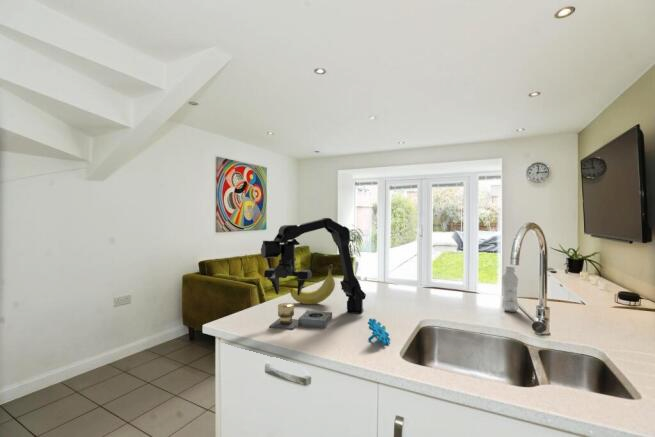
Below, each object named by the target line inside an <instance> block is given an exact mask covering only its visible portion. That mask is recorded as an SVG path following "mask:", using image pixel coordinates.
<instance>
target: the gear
mask: <svg viewBox="0 0 655 437" xmlns="http://www.w3.org/2000/svg"><path fill="white" fill-rule="evenodd" d="M381 323H382V322H380V321H378V322H377V319H376V318H369V319H368V322H367V325H369V326H368V329H369V330H370V331H372V332H371V334H372V335H370V336H369V337H368V341H369V342H371V341H372V340H374V338H376V340H377V341H378V342H381V343H382V344H383V346H384V345H389V344H390V341H391V337H389V336H390V333H389V332H388V331H386V325H382V324H381ZM381 325H382V326H381Z"/></svg>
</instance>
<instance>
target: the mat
mask: <svg viewBox="0 0 655 437" xmlns="http://www.w3.org/2000/svg"><path fill="white" fill-rule="evenodd" d="M268 327H269V328H272V329H280V330H292V331H293V330H295V329H296V328H297V327H299V326H298V319H296V318H295V319H294V318H292V324H289V325H282V324H280V317H279V318H278V319H276V320H275V321H274V322H273V323H271V324H270V325H269V326H268Z"/></svg>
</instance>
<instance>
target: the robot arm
mask: <svg viewBox="0 0 655 437" xmlns="http://www.w3.org/2000/svg"><path fill="white" fill-rule="evenodd" d="M321 229H325V231H327V233H330V234H331V237H332V240H333V242H334V243H335V245H336V246H337V250H338V256H339V259H340V265H341V269H342V273H343V274H342V275H343V279H342V280H341V281H340V287H341V289H340V290H342V291H343V293H345V297H347V301H346V312H347V313H350V314H360V315H361V314H362V313H363V312H364V307H363V306H364V302H363V301H364V300H365V299H366V296H367V294H366V293H365V292H364V291H363V290H362V287H361V283H360V282H359V279H357V277H356V276H355V271H354V267H353V261H352V256H351V252H350V247H349V244H350V241H351V233H350V229H349V227H347V226H345V225H344V226H343V225H342V224H340V223H338V222H336V221H334V220H333V219H332V218H330V217H322V218H319V219H317V220H312V221H308V222H305V223H301V224H300V223H299V224H285V225H281V226H280V227H279V229H278V233H277V234H276V236H275V238H273V240H262V244H261V248H260V254H261V257H262V259H272V258H273V259H274V258H278V257H279V256H280V258H279V259H278V260H279V261H278V264H277V265H276V266H275V268H268V269H265V270H264V271H263V277H264V278H266V279H267V280H268V281H270V282H271V284H272V286H273V289H274V292H275V295H279V292H280V279H286V278H287V277H297V278H298V279H297V280H296V281H297V289H298V296H299V295H300V293H301V291H303V287H304V285H305V282H306V281H307V280H309V279H310V278H312V276H313V274H312V271H311V269H301V270H299V271H297V268H296V265H295V264H296V261H297V260H296V257H295V256H296V254H295V253H296V251H295V250H296V249H295V246H298V245H300V242H298V240H297V238H298V237H301V235H303V234H306V233H310V232H314V231H316V230H317V231H319V230H321Z"/></svg>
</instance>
